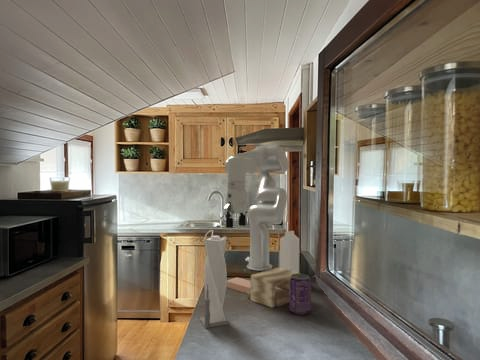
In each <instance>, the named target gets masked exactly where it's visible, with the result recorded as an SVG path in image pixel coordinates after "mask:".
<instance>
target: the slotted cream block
mask: <svg viewBox="0 0 480 360" xmlns="http://www.w3.org/2000/svg"><path fill="white" fill-rule="evenodd" d="M292 274H301V272H300V271H299V272H295V271H291V270H286V269H282V268H280V267H273V268H272V269H270V270H265V271H261V272H260V271H259V272H258V273H253V274H250V281H251V292H248V294H247V299H250V301H251V302H253V303H258V304H259V305H262V306H266V307H269V308H274V307H276V308H278V307H279V308H280V307H281V306H284V305H286V304H289V287H290V279H291V275H292Z"/></svg>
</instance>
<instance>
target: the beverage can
mask: <svg viewBox="0 0 480 360" xmlns="http://www.w3.org/2000/svg"><path fill="white" fill-rule="evenodd" d="M288 304H289V305H288V306H289V307H288V309H289V311H290V312H291V313H294V314H296V315H301V316H303V315H307V314H308V313H311V311H312V282H311V279H310V275H309V274H304V273H300V274H292V275H291V279H290V287H289V303H288Z"/></svg>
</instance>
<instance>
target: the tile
mask: <svg viewBox="0 0 480 360" xmlns="http://www.w3.org/2000/svg"><path fill="white" fill-rule="evenodd" d="M226 289H230V290H234V291H237V292H240V293H243V294H247V295H248V292H251V280H249V279H245V278H241V277H233V278H231V279H228V280H227V281H226Z"/></svg>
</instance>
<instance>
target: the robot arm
mask: <svg viewBox="0 0 480 360" xmlns="http://www.w3.org/2000/svg"><path fill="white" fill-rule="evenodd" d="M289 167H290V162H289V158H288V157H287V155H286V153H285V151H284V149H283V148H282V147H281V145H278V144H268V145H266V144H265V145H259V146H257V147H256V148H253V149H252V150H247V151H245V152H241V153H238V154H234V155H231V156H229V157H228V158H227V159H226V161H225V164H224V168H225V169H224V171H225V172H226V173H227V192H226V199H225V206H224V207H222V208H223V209H222V210H223V212H224V213H223V214H224V217H225V228H226V229H233V228H234V218H233V217H234V214H238V215H239V216H238V226H243V227H245V226H246V223H247V222H246V220H247V216H248V222H249V256H247V257H246V258H245V262H248V264H247V265H246V268H247V269H248V270H252V271H258V272H260V271H261V272H263V271H267V270H270V269H273V264H271V263H270V231H269V229H268V228H267V226H266V225H280V224H282V223H283V219H284V215H285V211H286V206H287V201H288V194H287V191H286V189H285V188H283V187H276V185H277V182H276V180H275V178H274V177H273V176H272V175H271V173H286V172H287V171H288V170H289ZM256 172H257V173H258V176H259V185H258V189H257V191H256V196H255V202H256V203H257V204H252V205H251V206H250V207H249V205H248V196H247V189H246V175H247V176H248V175H254V174H255V173H256Z"/></svg>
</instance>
